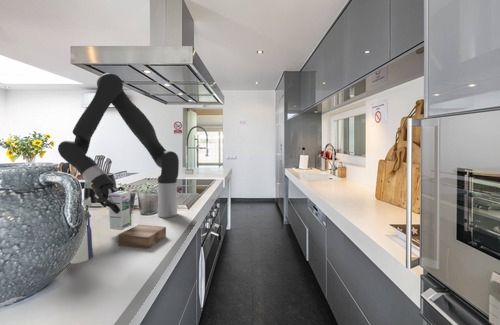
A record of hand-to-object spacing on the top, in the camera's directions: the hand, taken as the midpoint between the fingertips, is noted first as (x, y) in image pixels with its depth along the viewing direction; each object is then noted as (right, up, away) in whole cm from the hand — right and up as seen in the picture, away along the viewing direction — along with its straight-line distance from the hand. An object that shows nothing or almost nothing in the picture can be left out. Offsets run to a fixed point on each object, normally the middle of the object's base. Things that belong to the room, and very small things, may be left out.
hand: (124, 209), depth 103 cm
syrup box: (-2, -7, +1) cm, 8 cm away
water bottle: (-4, -12, -21) cm, 24 cm away
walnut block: (+10, -11, -6) cm, 16 cm away
